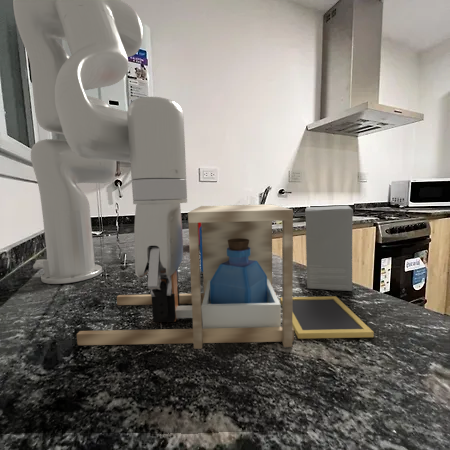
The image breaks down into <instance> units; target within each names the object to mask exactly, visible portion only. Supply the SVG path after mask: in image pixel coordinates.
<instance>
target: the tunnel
mask: <svg viewBox="0 0 450 450" xmlns="http://www.w3.org/2000/svg"><path fill="white" fill-rule="evenodd" d="M187 218H188V244H189V245H188V246H189V268H190V292H191V293H190V294H191V295H192V304H191V306H192V318H191V319H192V329H193V341H194V343H193V349H195V350H198V349H203V345H204V343H203V337H202V329H203V322H202V311H201V305H202V303H201V293H202V290H201V289H202V288H201V286H202V285H201V261H200V245H199V233H198V223H201V227H202V255H203V272H202V274H203V275H202V277H203V278H202V279H203V293H205V290H206V286H207V282H208V280H211V279H212V278H213V276H214V274H215V272H216V271H217V269H218V267H219V265H220V264H222V263H224V262H226V261H228V260H229V256H227V248H228V247H229V245H228V240H229V239H237V238H242V239H248V240H249V244H248V247H249V248H250V256H248V259H249V260H253V261H257V262H258V263H259V265H260V266H261V268H262V269H263V271H264V272H265V274H266V275H267V279H269V281H270V283H271V285H272V286H273V222H275V221H276V222H278V221H279V222H280V221H282V222H281V223H282V227H281V228H282V231H281V232H282V238H281V239H282V244H281V245H282V251H281V252H282V256H281V257H282V262H281V263H282V264H281V265H282V266H281V268H282V271H281V272H282V275H281V276H282V279H281V281H282V284H281V285H282V289H281V290H282V291H281V293H282V294H281V295H282V296H281V297H282V304H281V306H282V307H281V312H282V313H281V314H282V315H281V316H282V317H281V319H282V320H281V321H282V323H281V325H282V326H281V327H282V343H281V344H282V346H283V348H293V341H292V311H293V297H294V296H293V294H294V293H293V292H294V290H293V289H294V288H293V284H294V282H293V280H294V279H293V278H294V269H293V268H294V263H293V262H294V259H293V258H294V209H291V208H288V207H284V206H280V205H276V204H271V203H269V204H268V203H267V204H265V203H263V204H233V205H232V204H229V205H227V204H226V205H201V206H198V207H196V208H193V209H192V210H190V211H189V212H187Z"/></svg>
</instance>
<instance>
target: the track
mask: <svg viewBox="0 0 450 450" xmlns="http://www.w3.org/2000/svg"><path fill="white" fill-rule="evenodd" d="M274 292H275V294H276V295H277V292H276V291H274ZM204 295H205V293H204V292H203V293H202V292H201V304H203V299H204ZM179 301H180V305H189V304H191V305H192V295H191V293H179ZM141 305H142V306H143V305H146V306H148V305H151V306H152V297H151V293H150V294H119V295H118V294H117V296H116V306H141ZM202 337H203V344H215V343H217V344H219V343H220V344H221V343H222V344H223V343H230V344H231V343H267V342H268V343H273V342H275V343H277V342H278V343H279V342H280V343H281V342H282V326H281V327H260V328H208V329H203V328H202ZM294 340H295V331H294V329H293V327H292V342H295V341H294ZM76 343H77V346H105V345H106V346H108V345H109V346H111V345H112V346H117V345H118V346H119V345H123V346H124V345H162V344H164V345H167V344H168V345H169V344H172V345H175V344H176V345H177V344H194V341H193V328H171V329H168V328H167V329H166V328H165V329H164V328H163V329H158V328H157V329H117V330H116V329H113V330H111V329H110V330H79V331H78V332H77V333H76Z"/></svg>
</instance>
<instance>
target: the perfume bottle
mask: <svg viewBox="0 0 450 450" xmlns="http://www.w3.org/2000/svg"><path fill="white" fill-rule="evenodd" d="M248 244H249V240H248V239H242V238H237V239H229V240H228V245H229V247H228V248H227V256H229V260H228V261H226V262H224V263H222V264H220V265H219V267H218V269H217V271H216V272H215V274H214V276H213V278H212V279H211V281H210V296H211V304H241V303H267V275H266V274H265V272H264V271H263V269H262V268H261V266H260V265H259V263H258V262H257V261H253V260H249V259H248V256H250V248H249V247H248Z"/></svg>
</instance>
